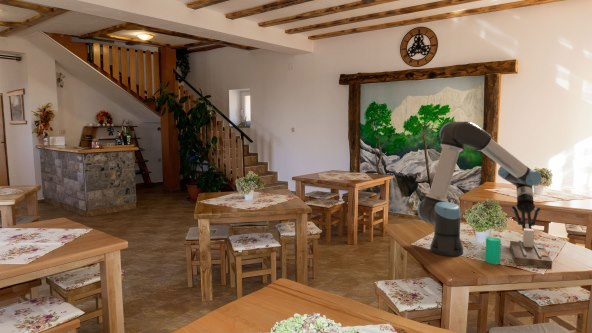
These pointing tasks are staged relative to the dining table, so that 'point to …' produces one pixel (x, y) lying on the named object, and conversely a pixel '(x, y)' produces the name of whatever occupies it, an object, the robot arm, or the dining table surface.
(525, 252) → the switch board
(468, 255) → the dining table surface
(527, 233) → the switch tab
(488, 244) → the candle
